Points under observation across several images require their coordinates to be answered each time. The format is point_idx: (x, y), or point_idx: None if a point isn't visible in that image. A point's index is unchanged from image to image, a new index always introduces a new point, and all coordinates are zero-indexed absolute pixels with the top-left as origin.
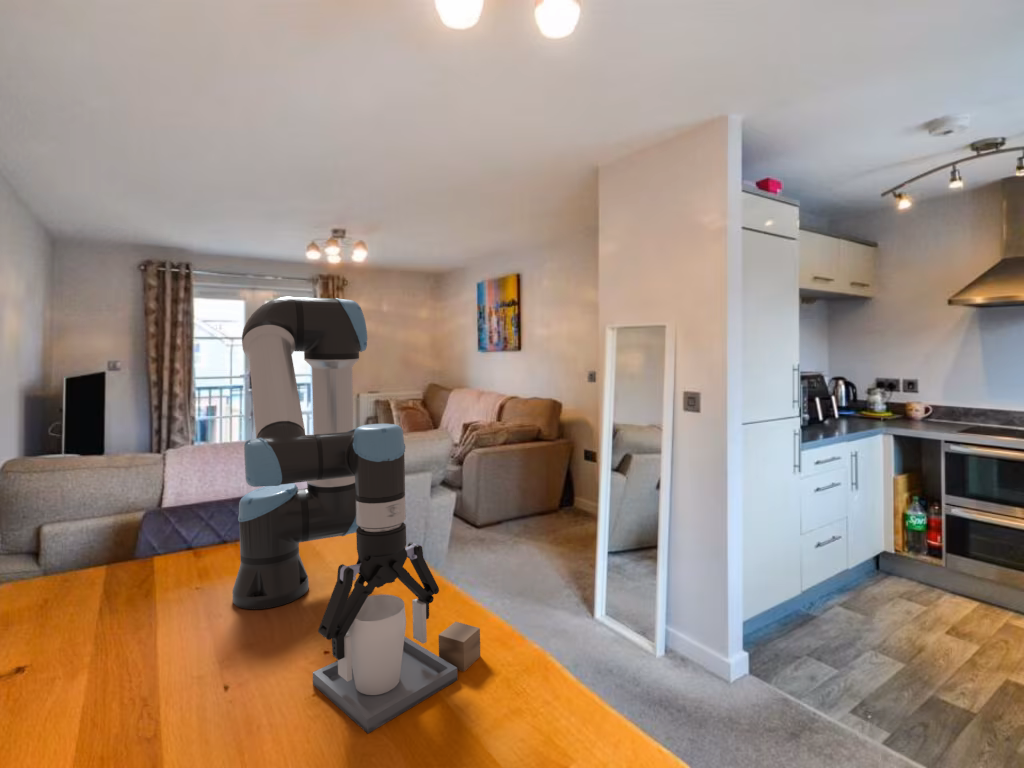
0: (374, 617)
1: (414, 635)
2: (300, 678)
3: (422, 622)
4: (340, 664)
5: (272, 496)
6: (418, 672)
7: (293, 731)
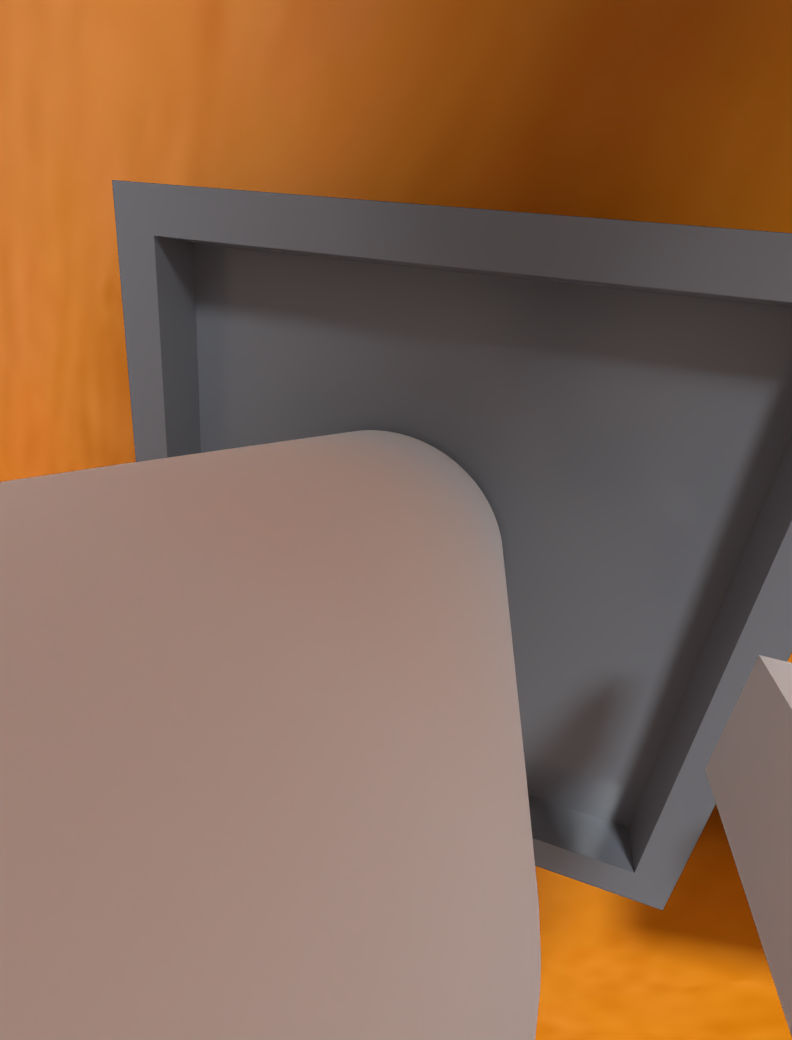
0: (361, 572)
1: (761, 692)
2: (146, 43)
3: (776, 981)
4: None
5: None
6: (577, 681)
7: (20, 454)
